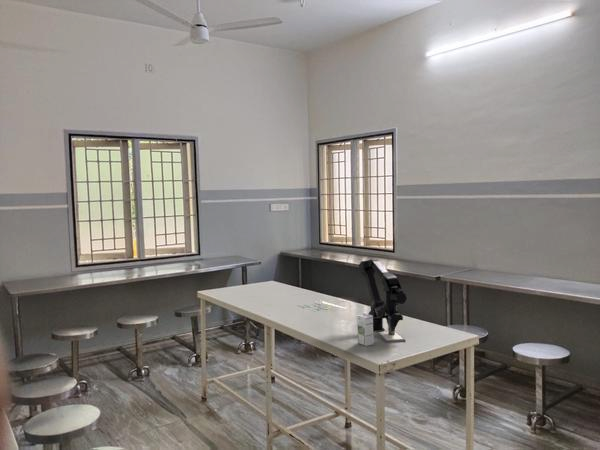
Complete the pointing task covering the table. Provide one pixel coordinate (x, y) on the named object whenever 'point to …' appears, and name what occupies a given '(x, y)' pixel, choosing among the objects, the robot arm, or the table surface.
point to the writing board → (391, 337)
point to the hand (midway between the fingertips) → (391, 330)
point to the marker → (390, 328)
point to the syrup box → (365, 329)
